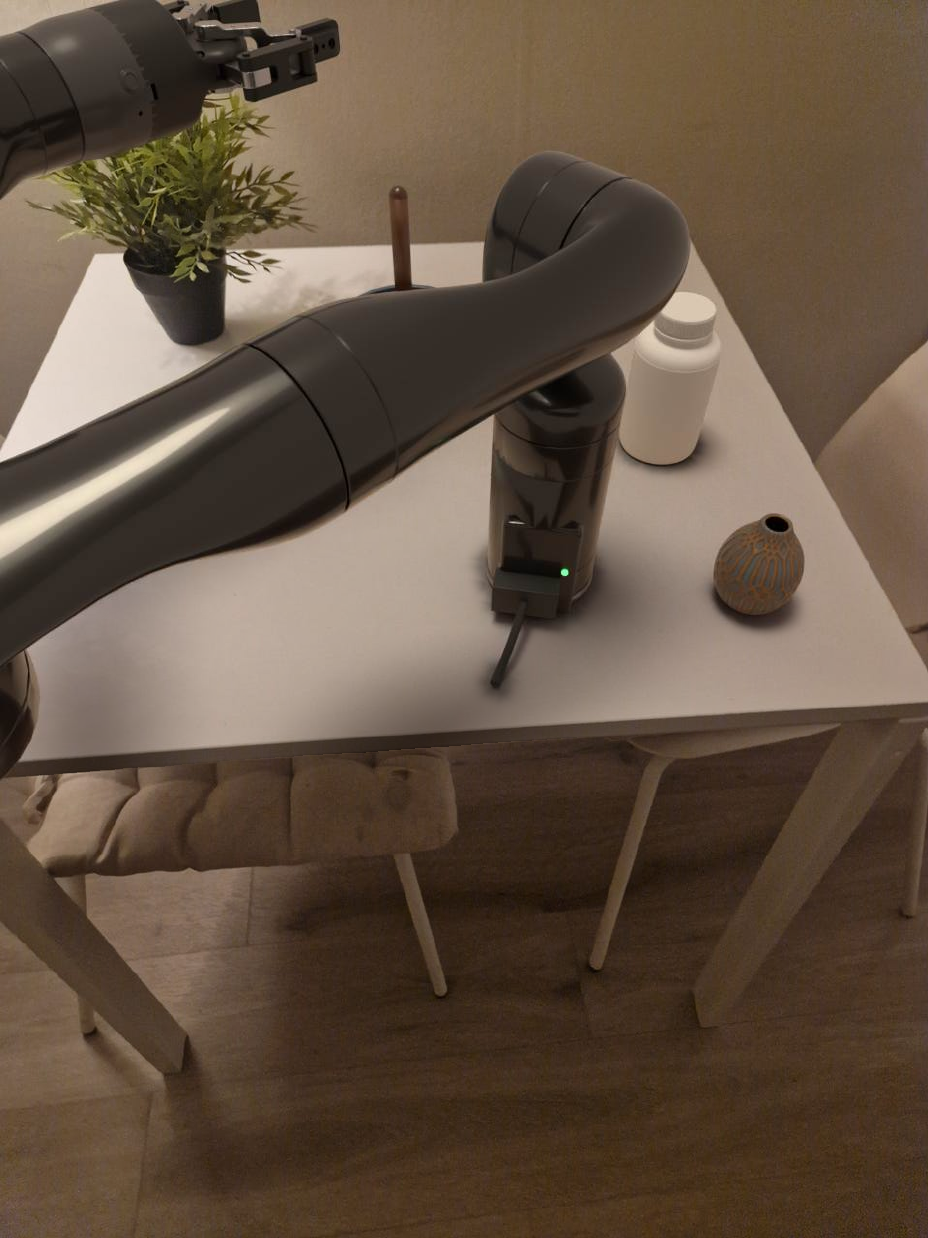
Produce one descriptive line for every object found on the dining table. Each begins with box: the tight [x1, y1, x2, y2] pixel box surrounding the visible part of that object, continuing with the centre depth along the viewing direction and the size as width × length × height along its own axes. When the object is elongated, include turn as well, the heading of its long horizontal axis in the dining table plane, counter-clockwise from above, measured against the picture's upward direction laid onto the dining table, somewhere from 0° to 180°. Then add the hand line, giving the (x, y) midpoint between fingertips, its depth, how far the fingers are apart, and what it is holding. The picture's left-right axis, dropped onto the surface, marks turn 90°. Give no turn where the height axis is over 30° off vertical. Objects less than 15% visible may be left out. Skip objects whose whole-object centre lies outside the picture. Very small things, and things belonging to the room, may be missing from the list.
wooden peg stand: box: [388, 184, 413, 291], centre depth 83 cm, size 5×5×19 cm
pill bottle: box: [618, 291, 723, 466], centre depth 76 cm, size 8×8×15 cm
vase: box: [713, 512, 805, 616], centre depth 65 cm, size 7×7×9 cm
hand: (295, 24), depth 59 cm, fingers open, 8 cm apart
